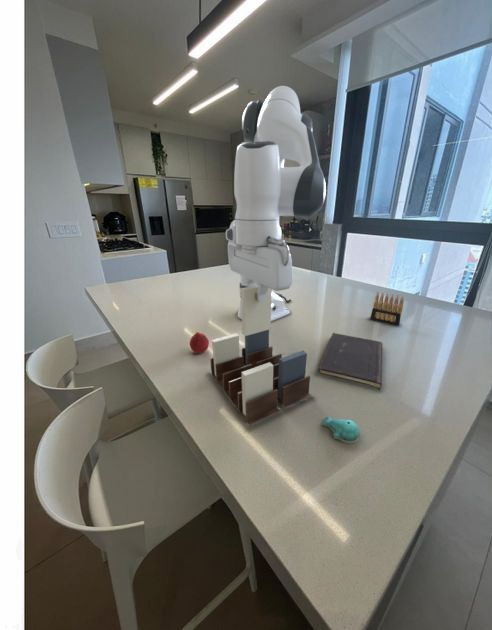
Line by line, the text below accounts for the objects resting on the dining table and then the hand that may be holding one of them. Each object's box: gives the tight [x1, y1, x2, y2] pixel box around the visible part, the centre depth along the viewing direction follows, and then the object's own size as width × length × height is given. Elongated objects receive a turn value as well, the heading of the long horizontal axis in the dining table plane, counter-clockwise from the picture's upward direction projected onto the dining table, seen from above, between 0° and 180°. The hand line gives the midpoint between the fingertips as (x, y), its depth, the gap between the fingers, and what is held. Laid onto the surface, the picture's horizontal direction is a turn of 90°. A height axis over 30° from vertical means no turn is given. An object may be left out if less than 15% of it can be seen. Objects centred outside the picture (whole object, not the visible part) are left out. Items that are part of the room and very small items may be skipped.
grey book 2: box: [278, 350, 308, 401], centre depth 62 cm, size 7×2×11 cm, turn 122°
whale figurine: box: [321, 416, 360, 444], centre depth 53 cm, size 6×7×4 cm
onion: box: [189, 330, 210, 354], centre depth 81 cm, size 6×6×8 cm
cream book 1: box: [211, 332, 241, 376], centre depth 69 cm, size 7×2×11 cm, turn 122°
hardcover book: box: [318, 332, 383, 390], centre depth 79 cm, size 16×23×2 cm
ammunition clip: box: [369, 291, 405, 327], centre depth 102 cm, size 11×2×12 cm, turn 55°
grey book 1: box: [244, 329, 270, 365], centre depth 74 cm, size 7×2×11 cm, turn 122°
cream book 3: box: [242, 362, 273, 416], centre depth 57 cm, size 7×2×11 cm, turn 122°
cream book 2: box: [241, 285, 273, 337], centre depth 59 cm, size 7×2×11 cm, turn 122°
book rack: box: [209, 346, 312, 426], centre depth 67 cm, size 18×22×6 cm
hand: (256, 298), depth 58 cm, fingers closed on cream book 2, 1 cm apart
